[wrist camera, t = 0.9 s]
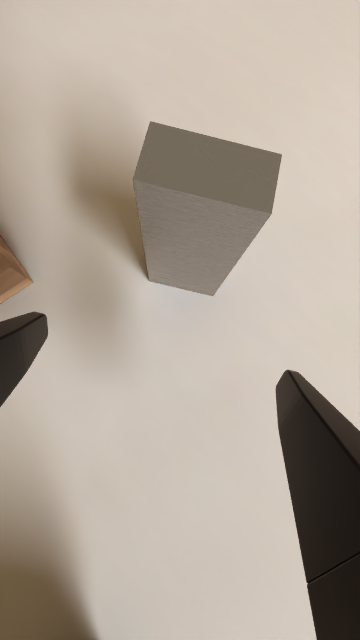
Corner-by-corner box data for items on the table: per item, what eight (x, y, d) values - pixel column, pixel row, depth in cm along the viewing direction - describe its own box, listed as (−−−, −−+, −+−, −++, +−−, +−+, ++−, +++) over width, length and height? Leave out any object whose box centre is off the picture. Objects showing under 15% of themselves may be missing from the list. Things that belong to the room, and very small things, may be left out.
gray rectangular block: (212, 296, 24) (271, 213, 11) (149, 281, 24) (133, 179, 11) (219, 266, 24) (281, 154, 11) (156, 251, 24) (150, 121, 11)
